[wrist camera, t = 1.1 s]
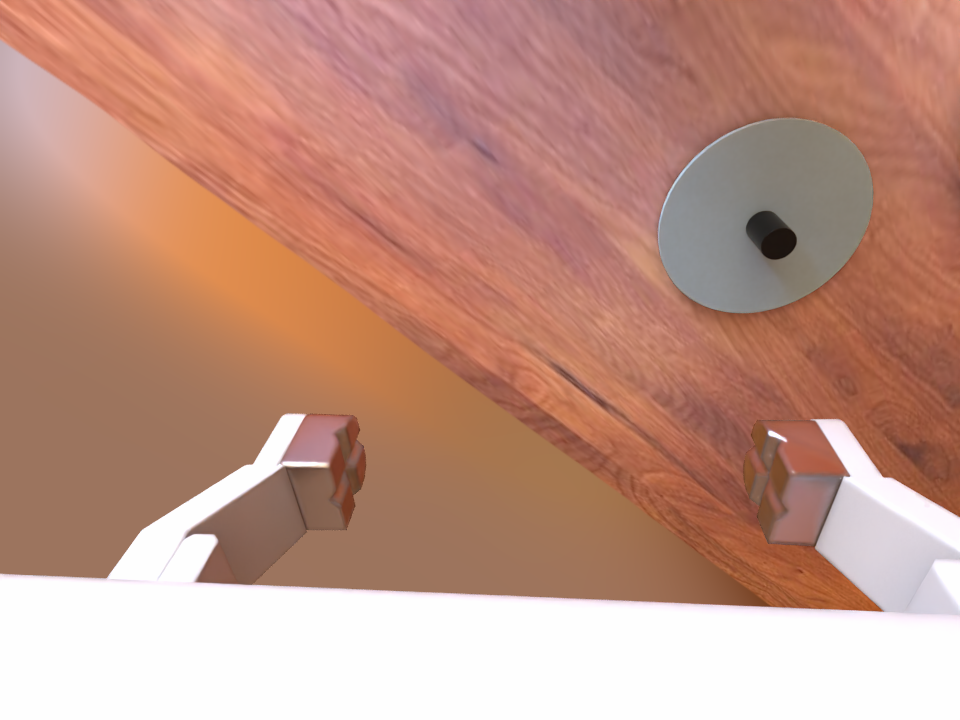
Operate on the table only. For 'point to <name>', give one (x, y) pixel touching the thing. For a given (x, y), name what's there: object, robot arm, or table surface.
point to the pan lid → (765, 215)
